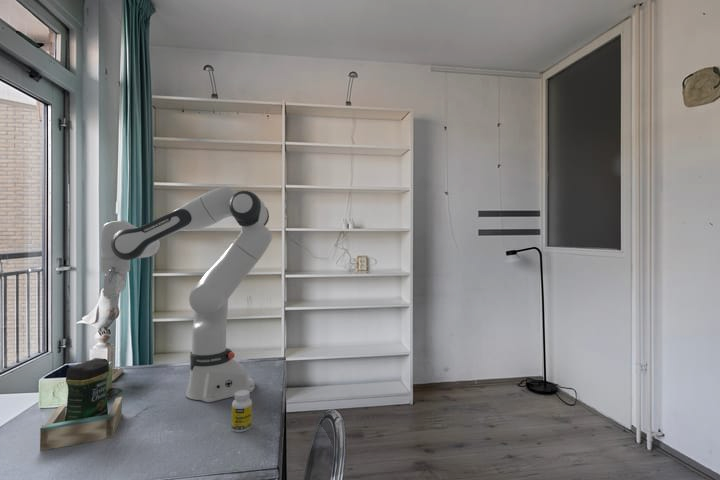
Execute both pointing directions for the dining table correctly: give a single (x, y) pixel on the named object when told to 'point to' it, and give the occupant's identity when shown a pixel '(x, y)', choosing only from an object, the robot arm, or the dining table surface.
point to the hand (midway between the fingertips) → (114, 306)
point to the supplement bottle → (241, 411)
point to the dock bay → (78, 428)
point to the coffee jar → (87, 389)
